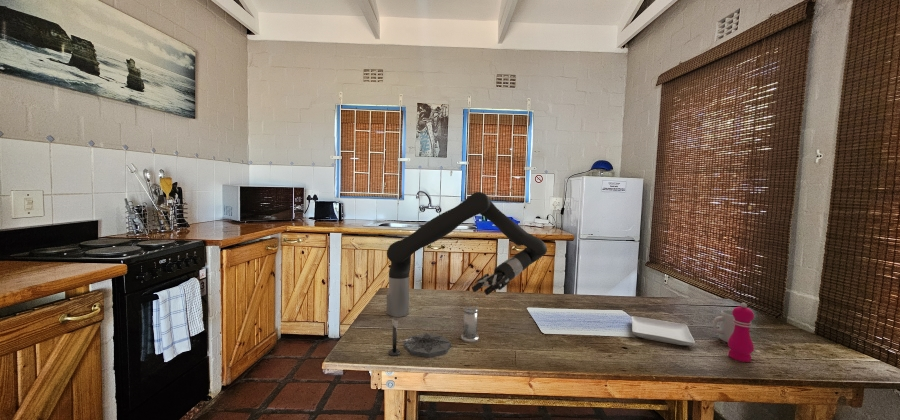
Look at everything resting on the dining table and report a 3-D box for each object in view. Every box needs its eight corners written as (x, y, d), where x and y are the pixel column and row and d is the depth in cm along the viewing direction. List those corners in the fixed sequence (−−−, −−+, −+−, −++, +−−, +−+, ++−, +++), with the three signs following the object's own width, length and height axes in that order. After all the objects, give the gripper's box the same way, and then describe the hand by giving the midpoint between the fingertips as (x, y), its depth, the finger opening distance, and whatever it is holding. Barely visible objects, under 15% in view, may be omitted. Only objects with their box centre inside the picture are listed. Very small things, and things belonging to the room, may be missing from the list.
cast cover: (458, 341, 139) (459, 310, 138) (463, 334, 145) (464, 305, 144) (476, 343, 137) (477, 312, 136) (480, 336, 143) (481, 307, 143)
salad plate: (685, 331, 155) (686, 323, 155) (695, 351, 136) (695, 342, 136) (630, 322, 164) (630, 314, 164) (631, 339, 145) (632, 331, 144)
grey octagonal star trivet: (398, 352, 128) (398, 348, 128) (415, 335, 143) (415, 331, 143) (441, 359, 123) (442, 355, 123) (454, 341, 139) (454, 337, 138)
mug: (735, 336, 150) (737, 310, 149) (751, 345, 141) (753, 317, 140) (705, 335, 150) (707, 309, 150) (719, 344, 142) (721, 316, 141)
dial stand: (390, 357, 124) (391, 322, 123) (386, 352, 128) (387, 318, 127) (412, 352, 128) (413, 318, 127) (408, 348, 132) (408, 314, 131)
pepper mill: (721, 353, 134) (725, 299, 132) (740, 353, 134) (744, 299, 133) (739, 362, 126) (743, 306, 125) (758, 362, 127) (762, 306, 126)
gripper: (494, 261, 153) (465, 281, 145) (516, 262, 141) (485, 284, 133) (501, 276, 154) (472, 297, 147) (523, 279, 142) (493, 302, 134)
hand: (479, 291), depth 140 cm, fingers open, 8 cm apart
